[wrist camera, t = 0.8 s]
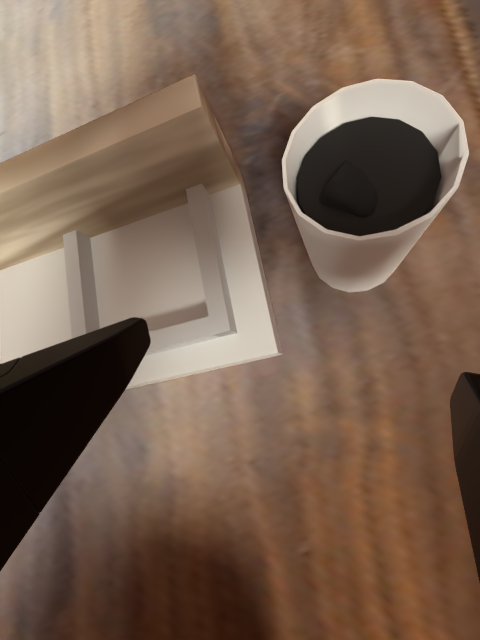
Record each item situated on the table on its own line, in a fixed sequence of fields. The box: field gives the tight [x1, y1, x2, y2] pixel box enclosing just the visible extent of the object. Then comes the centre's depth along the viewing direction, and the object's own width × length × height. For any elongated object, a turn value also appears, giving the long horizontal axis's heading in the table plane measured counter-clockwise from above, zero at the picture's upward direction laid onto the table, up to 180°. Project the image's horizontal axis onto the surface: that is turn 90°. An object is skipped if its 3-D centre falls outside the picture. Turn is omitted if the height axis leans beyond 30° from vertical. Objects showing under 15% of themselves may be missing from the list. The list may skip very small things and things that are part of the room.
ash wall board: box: [0, 74, 247, 270], centre depth 23 cm, size 2×22×9 cm, turn 101°
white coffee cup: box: [282, 79, 469, 292], centre depth 17 cm, size 7×7×10 cm
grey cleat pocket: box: [0, 183, 283, 390], centre depth 24 cm, size 12×22×4 cm, turn 102°
